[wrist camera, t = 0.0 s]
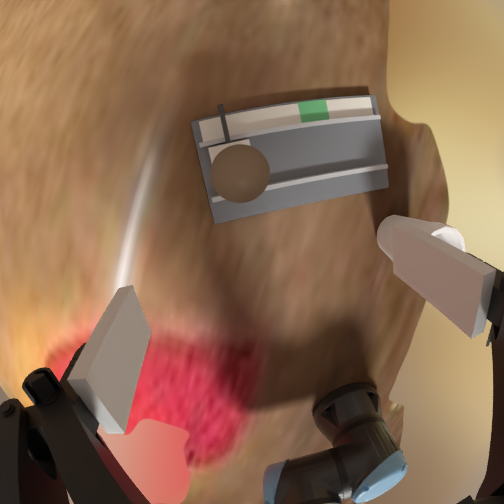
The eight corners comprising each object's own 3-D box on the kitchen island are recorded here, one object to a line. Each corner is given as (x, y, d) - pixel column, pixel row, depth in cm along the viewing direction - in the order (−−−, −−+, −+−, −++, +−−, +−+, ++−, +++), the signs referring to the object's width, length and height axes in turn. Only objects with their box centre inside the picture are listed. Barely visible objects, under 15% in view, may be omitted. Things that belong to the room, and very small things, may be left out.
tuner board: (384, 186, 42) (393, 188, 40) (214, 221, 41) (214, 226, 39) (370, 96, 37) (378, 93, 35) (191, 122, 36) (189, 120, 34)
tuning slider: (257, 184, 38) (275, 200, 27) (218, 193, 38) (218, 213, 26) (240, 102, 35) (250, 80, 23) (199, 111, 34) (191, 93, 23)
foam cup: (420, 210, 44) (472, 232, 32) (407, 262, 47) (453, 295, 35) (374, 201, 43) (425, 221, 31) (362, 257, 46) (405, 294, 34)
